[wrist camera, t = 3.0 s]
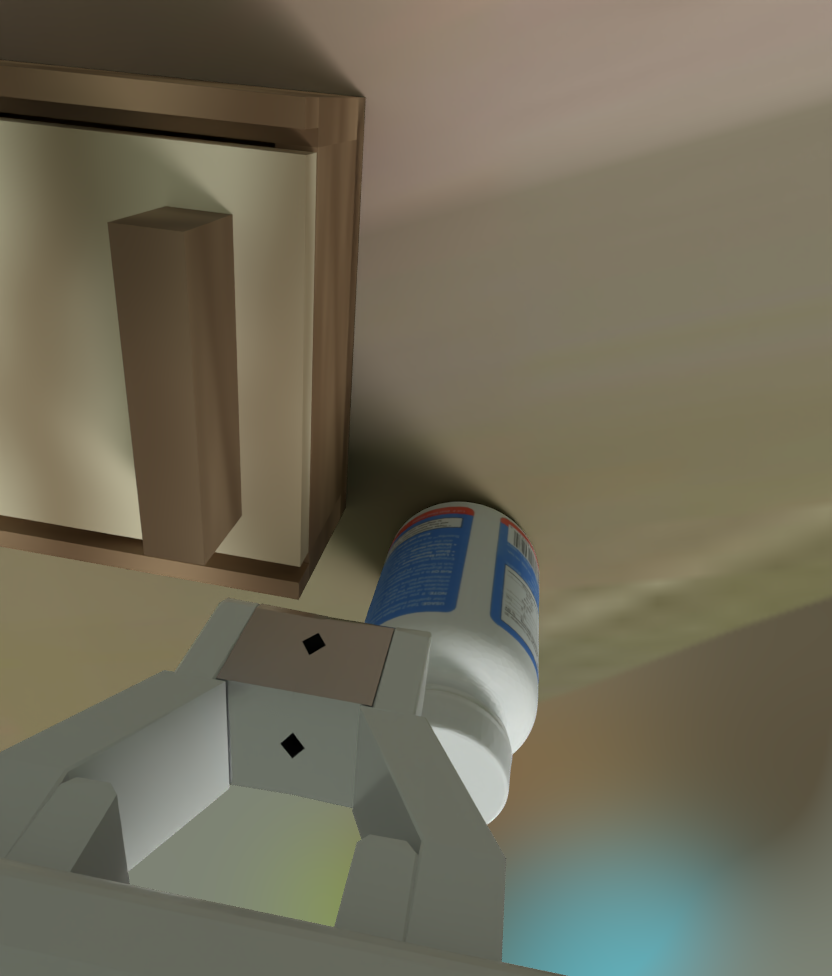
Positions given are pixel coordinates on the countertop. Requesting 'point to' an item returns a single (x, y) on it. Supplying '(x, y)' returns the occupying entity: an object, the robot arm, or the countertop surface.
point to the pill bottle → (469, 635)
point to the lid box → (339, 147)
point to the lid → (157, 339)
